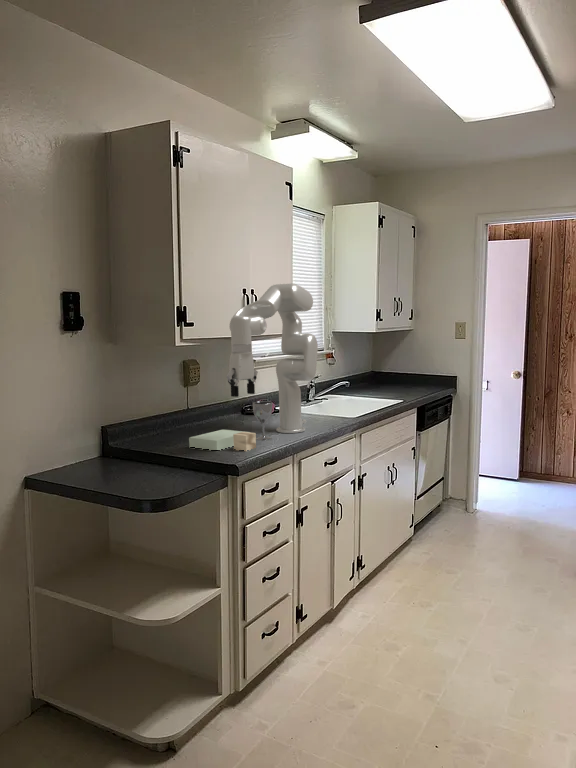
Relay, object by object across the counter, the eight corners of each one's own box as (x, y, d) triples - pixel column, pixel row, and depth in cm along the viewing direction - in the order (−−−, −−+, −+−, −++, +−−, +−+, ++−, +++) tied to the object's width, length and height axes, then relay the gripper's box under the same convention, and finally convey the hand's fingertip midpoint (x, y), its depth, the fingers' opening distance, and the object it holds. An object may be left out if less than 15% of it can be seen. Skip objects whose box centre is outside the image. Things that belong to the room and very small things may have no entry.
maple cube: (243, 447, 241) (243, 431, 240) (256, 448, 237) (255, 433, 237) (233, 450, 236) (233, 434, 235) (246, 451, 232) (245, 435, 232)
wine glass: (249, 439, 256) (248, 402, 255) (264, 436, 262) (263, 400, 260) (262, 441, 251) (261, 404, 249) (277, 438, 256) (276, 402, 255)
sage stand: (222, 438, 258) (222, 429, 258) (249, 441, 250) (249, 432, 250) (189, 447, 242) (189, 437, 241) (217, 451, 234) (216, 440, 233)
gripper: (248, 348, 242) (249, 392, 244) (218, 350, 228) (220, 397, 229) (263, 348, 238) (264, 393, 239) (234, 350, 223) (236, 398, 225)
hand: (243, 395), depth 234 cm, fingers open, 9 cm apart
